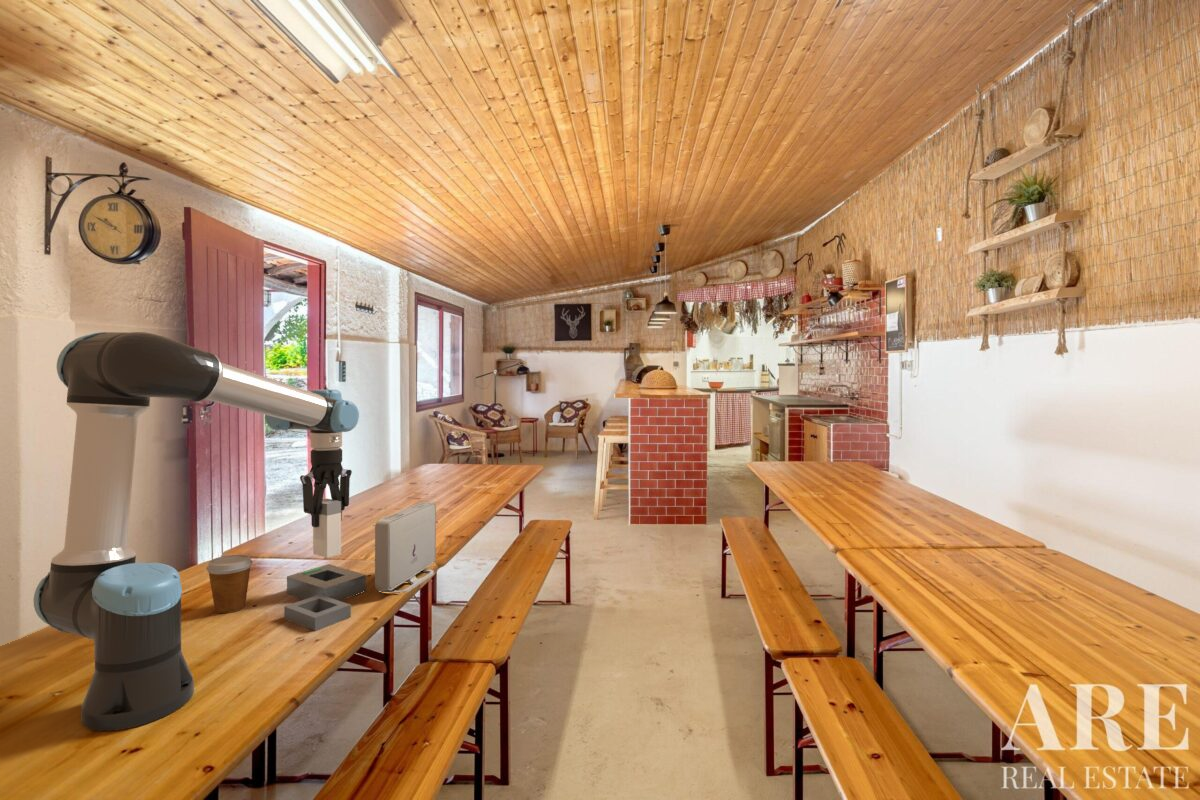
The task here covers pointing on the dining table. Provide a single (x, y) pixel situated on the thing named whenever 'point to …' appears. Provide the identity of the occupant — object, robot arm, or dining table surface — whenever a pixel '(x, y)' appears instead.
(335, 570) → the port block
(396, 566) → the network device
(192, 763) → the dining table surface
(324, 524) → the plug
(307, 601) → the holder
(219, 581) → the disposable coffee cup
